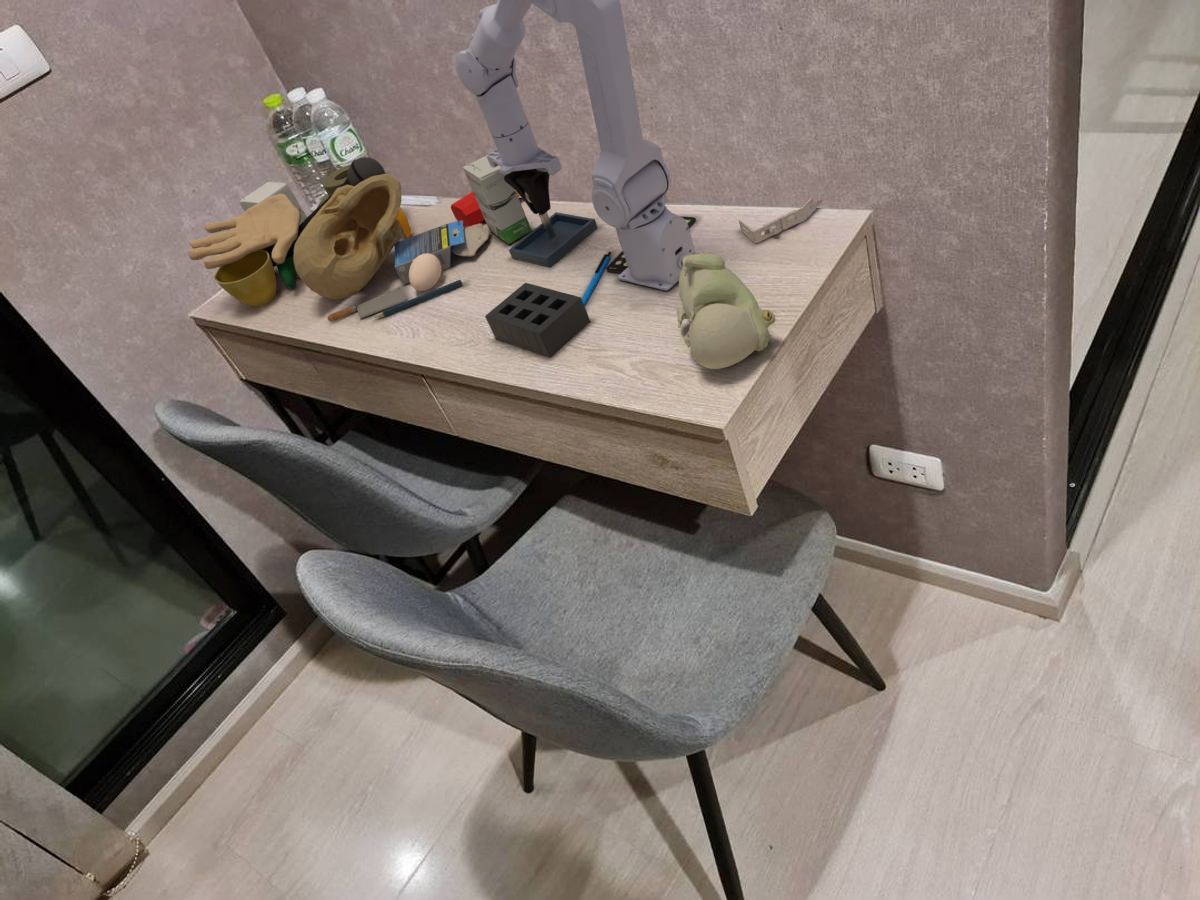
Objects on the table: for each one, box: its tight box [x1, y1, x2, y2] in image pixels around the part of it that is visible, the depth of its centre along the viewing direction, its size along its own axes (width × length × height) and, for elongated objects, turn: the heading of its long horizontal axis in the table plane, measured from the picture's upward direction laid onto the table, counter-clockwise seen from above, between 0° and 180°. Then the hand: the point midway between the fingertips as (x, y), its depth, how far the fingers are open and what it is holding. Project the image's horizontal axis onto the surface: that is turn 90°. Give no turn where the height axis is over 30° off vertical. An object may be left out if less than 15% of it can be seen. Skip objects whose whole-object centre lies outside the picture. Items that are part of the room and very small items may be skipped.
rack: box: [484, 282, 591, 358], centre depth 116 cm, size 12×8×4 cm
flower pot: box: [214, 250, 277, 308], centre depth 152 cm, size 10×10×7 cm
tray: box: [508, 211, 598, 268], centre depth 135 cm, size 9×11×2 cm
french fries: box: [450, 191, 520, 228], centre depth 150 cm, size 8×4×12 cm
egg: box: [409, 253, 442, 292], centre depth 136 cm, size 5×5×7 cm
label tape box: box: [394, 220, 465, 286], centre depth 142 cm, size 9×4×12 cm
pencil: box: [373, 279, 464, 319], centre depth 134 cm, size 1×1×15 cm
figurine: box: [676, 253, 777, 370], centre depth 101 cm, size 10×16×10 cm
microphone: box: [298, 156, 386, 236], centre depth 150 cm, size 7×7×20 cm
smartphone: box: [605, 215, 697, 275], centre depth 125 cm, size 7×1×15 cm
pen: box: [581, 251, 612, 307], centre depth 121 cm, size 1×19×1 cm, turn 161°
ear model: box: [293, 173, 403, 300], centre depth 140 cm, size 13×20×20 cm
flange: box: [317, 163, 390, 208], centre depth 155 cm, size 5×15×15 cm
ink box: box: [462, 155, 533, 245], centre depth 139 cm, size 9×5×12 cm, turn 29°
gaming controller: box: [276, 254, 300, 289], centre depth 155 cm, size 9×4×6 cm
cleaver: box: [327, 285, 409, 323], centre depth 138 cm, size 13×1×5 cm
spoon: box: [525, 191, 556, 240], centre depth 131 cm, size 1×3×10 cm, turn 137°
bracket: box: [738, 197, 823, 244], centre depth 118 cm, size 2×6×15 cm
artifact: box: [450, 223, 490, 257], centre depth 142 cm, size 7×3×10 cm
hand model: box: [187, 194, 301, 270], centre depth 149 cm, size 19×5×20 cm
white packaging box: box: [238, 181, 308, 225], centre depth 162 cm, size 7×7×13 cm
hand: (542, 211), depth 131 cm, fingers closed on spoon, 1 cm apart
